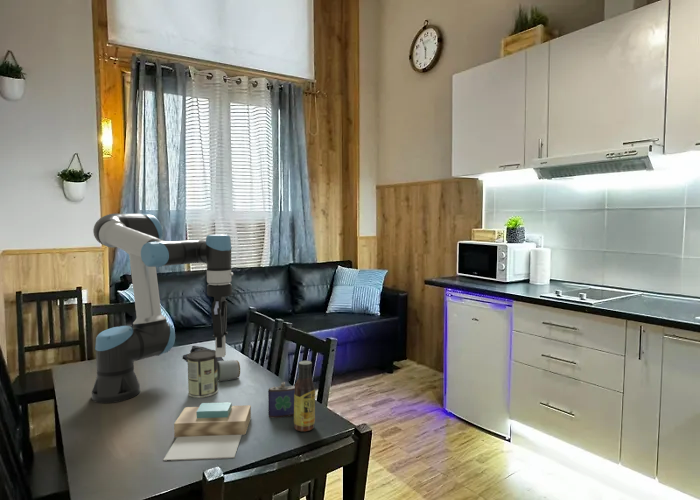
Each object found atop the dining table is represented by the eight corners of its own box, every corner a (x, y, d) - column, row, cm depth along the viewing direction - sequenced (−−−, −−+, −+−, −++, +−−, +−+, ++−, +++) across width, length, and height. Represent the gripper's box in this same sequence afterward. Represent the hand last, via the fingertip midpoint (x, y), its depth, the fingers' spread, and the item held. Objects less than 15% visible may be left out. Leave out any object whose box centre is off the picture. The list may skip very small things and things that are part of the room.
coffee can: (202, 385, 166) (201, 348, 165) (224, 389, 162) (223, 351, 161) (181, 395, 157) (180, 356, 156) (203, 400, 152) (202, 360, 151)
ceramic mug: (241, 380, 171) (241, 360, 170) (220, 384, 167) (219, 364, 166) (234, 372, 180) (234, 354, 180) (213, 376, 176) (213, 357, 176)
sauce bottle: (306, 434, 128) (305, 367, 127) (289, 429, 131) (289, 363, 130) (319, 426, 134) (319, 361, 132) (303, 421, 137) (302, 358, 135)
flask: (297, 412, 143) (296, 379, 142) (298, 415, 140) (297, 383, 140) (268, 414, 141) (267, 382, 140) (268, 418, 138) (268, 385, 137)
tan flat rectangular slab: (174, 437, 126) (174, 423, 126) (185, 419, 137) (185, 407, 137) (245, 434, 128) (245, 421, 128) (250, 417, 139) (250, 405, 139)
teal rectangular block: (196, 418, 130) (196, 411, 129) (201, 409, 135) (201, 403, 135) (227, 417, 130) (227, 410, 130) (231, 408, 136) (231, 402, 136)
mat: (163, 460, 114) (163, 459, 114) (177, 437, 126) (177, 436, 126) (234, 457, 116) (234, 456, 115) (241, 435, 127) (241, 434, 127)
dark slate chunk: (191, 371, 183) (191, 359, 182) (181, 356, 202) (181, 346, 201) (228, 364, 191) (228, 354, 190) (215, 351, 209) (215, 341, 209)
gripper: (227, 286, 134) (228, 362, 135) (235, 280, 147) (236, 349, 149) (201, 286, 133) (203, 363, 135) (212, 280, 147) (213, 350, 148)
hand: (220, 356), depth 142 cm, fingers closed
